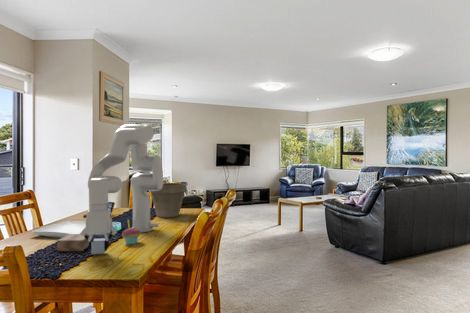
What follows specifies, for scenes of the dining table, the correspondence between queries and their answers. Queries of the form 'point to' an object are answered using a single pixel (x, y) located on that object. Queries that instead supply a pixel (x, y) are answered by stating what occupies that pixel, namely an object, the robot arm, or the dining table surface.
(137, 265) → the dining table surface
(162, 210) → the plant pot
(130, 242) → the cupcake
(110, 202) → the handheld game console
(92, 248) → the slate block
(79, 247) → the walnut base
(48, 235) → the square plate
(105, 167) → the robot arm
